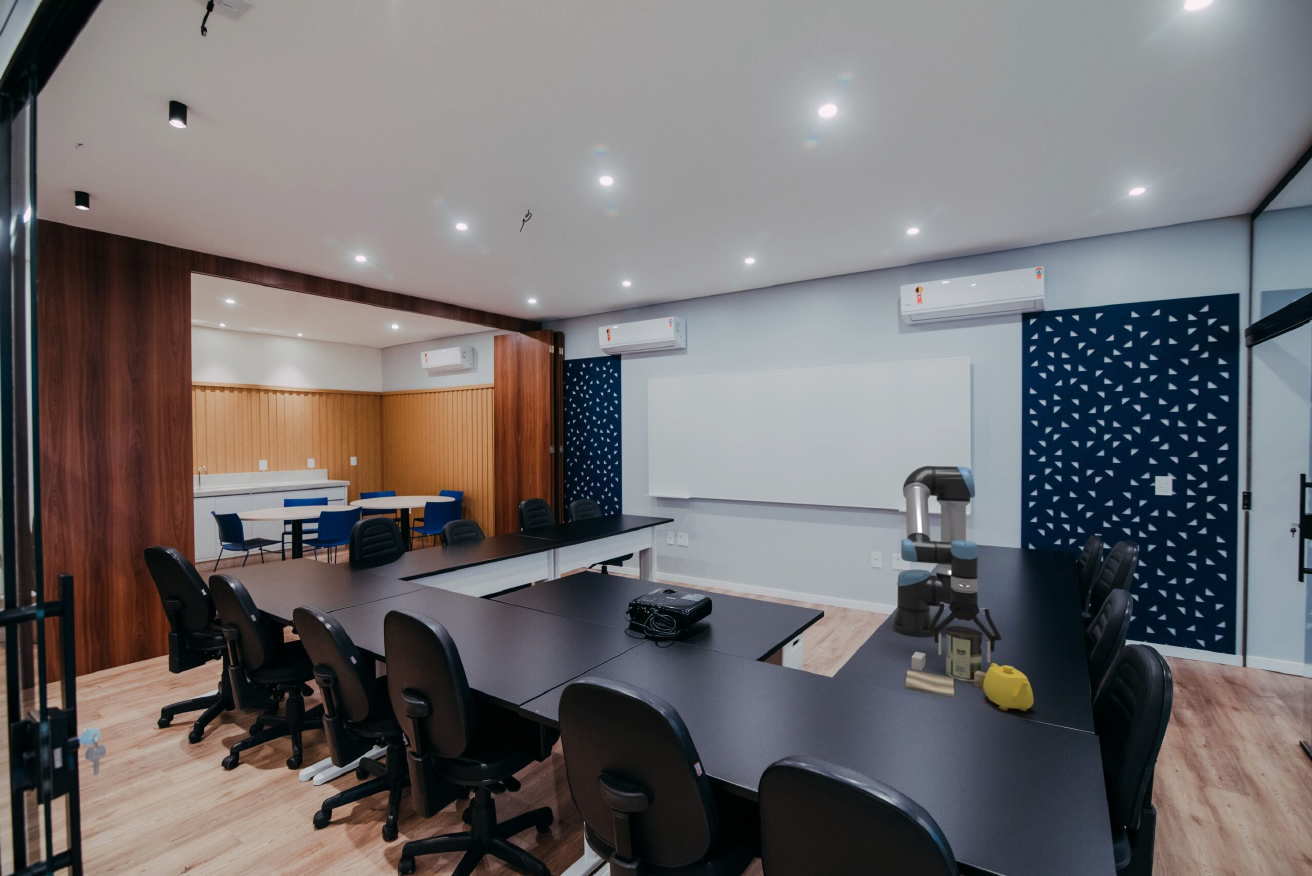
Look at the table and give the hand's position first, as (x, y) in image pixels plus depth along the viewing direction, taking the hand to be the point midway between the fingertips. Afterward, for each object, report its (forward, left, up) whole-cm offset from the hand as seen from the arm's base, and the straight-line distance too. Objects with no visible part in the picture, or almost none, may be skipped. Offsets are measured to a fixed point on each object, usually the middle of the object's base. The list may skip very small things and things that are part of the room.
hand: (963, 657), depth 180 cm
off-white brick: (-1, -13, -6) cm, 14 cm away
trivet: (+12, -10, -6) cm, 17 cm away
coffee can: (0, 0, -6) cm, 6 cm away
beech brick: (+7, +6, -6) cm, 11 cm away
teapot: (+17, +11, -6) cm, 21 cm away
